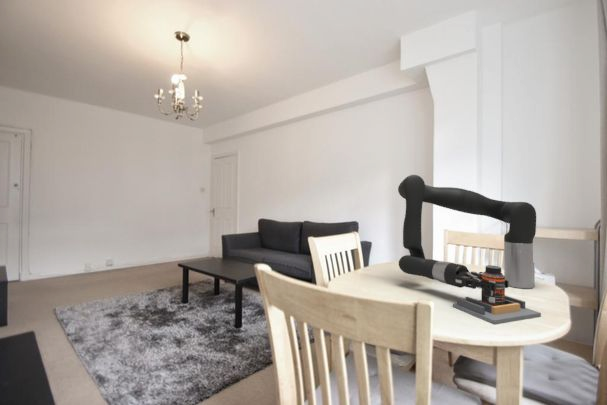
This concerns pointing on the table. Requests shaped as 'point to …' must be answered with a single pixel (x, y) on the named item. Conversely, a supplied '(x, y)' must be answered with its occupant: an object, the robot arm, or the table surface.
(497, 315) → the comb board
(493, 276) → the supplement bottle
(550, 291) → the table surface
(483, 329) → the table surface
